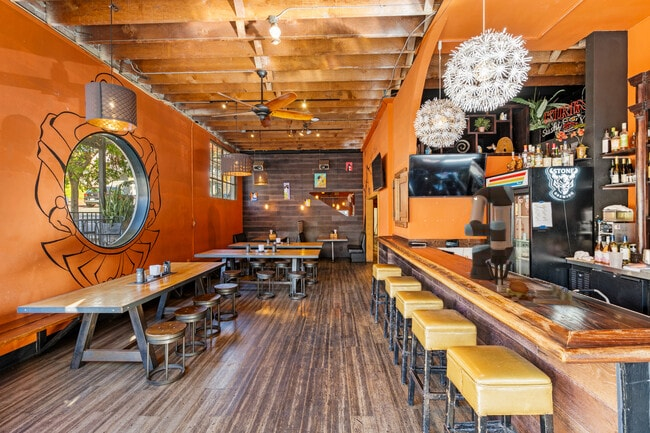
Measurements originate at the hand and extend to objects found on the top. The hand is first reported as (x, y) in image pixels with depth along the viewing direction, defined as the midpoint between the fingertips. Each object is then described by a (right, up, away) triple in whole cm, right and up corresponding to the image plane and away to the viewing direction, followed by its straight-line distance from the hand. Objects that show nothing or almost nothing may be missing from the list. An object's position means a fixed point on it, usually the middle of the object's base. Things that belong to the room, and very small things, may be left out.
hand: (499, 290), depth 168 cm
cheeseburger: (+9, -3, -2) cm, 10 cm away
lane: (+16, -3, -4) cm, 17 cm away
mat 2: (+6, -3, -16) cm, 17 cm away
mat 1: (+21, -2, +9) cm, 23 cm away
